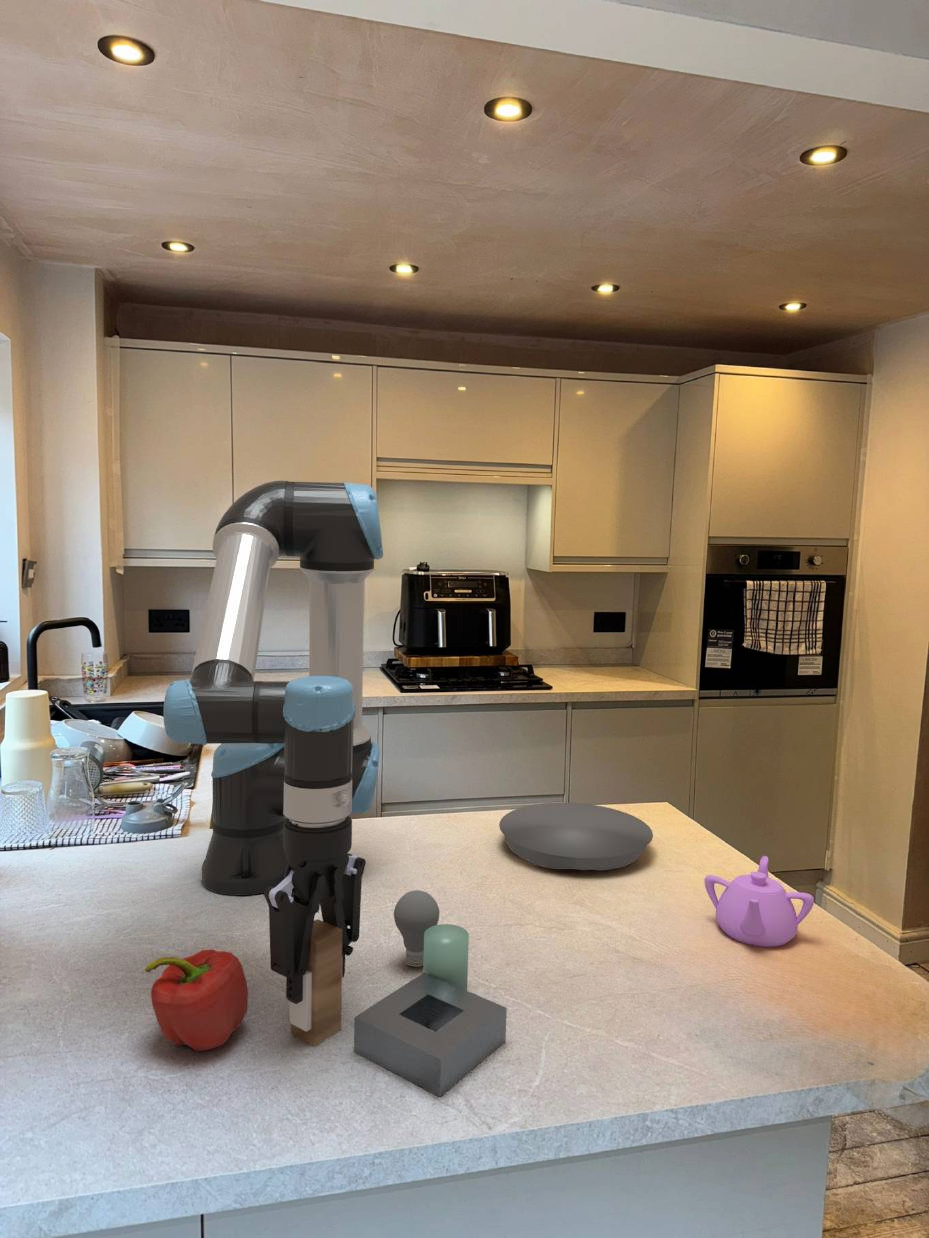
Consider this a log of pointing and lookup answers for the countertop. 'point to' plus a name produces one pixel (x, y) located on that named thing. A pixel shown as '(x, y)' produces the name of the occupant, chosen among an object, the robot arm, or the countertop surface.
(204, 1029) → the vegetable
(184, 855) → the countertop surface
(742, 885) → the teapot
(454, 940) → the green round bit
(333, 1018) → the walnut square peg
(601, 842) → the flat disc
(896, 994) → the countertop surface
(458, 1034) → the bore block
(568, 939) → the countertop surface
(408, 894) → the light bulb
